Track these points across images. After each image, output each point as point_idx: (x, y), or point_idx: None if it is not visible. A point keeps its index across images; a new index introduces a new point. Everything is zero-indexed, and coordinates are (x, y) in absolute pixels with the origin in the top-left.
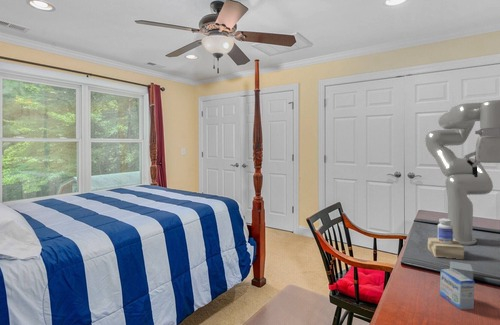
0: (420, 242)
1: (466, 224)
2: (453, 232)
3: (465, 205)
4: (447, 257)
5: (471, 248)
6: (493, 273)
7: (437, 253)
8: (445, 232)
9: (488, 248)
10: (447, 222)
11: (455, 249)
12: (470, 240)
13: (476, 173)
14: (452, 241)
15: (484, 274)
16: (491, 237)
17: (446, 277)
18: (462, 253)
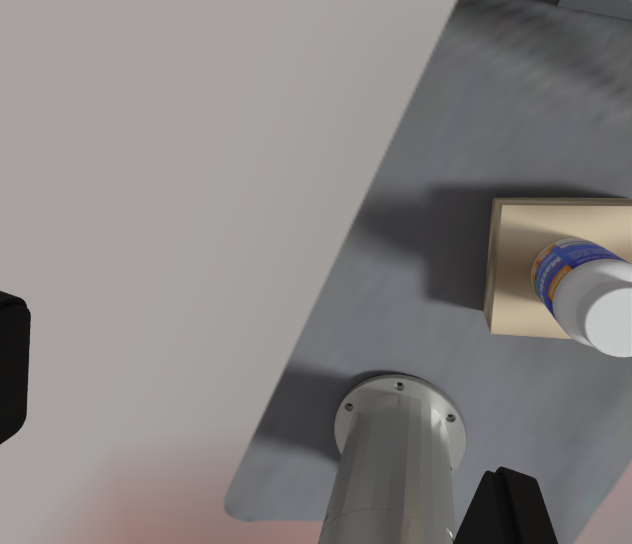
0: (609, 396)
1: (382, 446)
2: (438, 436)
3: (378, 538)
4: (569, 198)
5: (392, 337)
6: (440, 51)
7: (628, 201)
8: (612, 255)
9: (321, 344)
10: (622, 283)
11: (543, 203)
12: (368, 401)
13: (533, 530)
14: (544, 253)
15: (487, 27)
16: (252, 467)
17: None
18: (504, 200)
